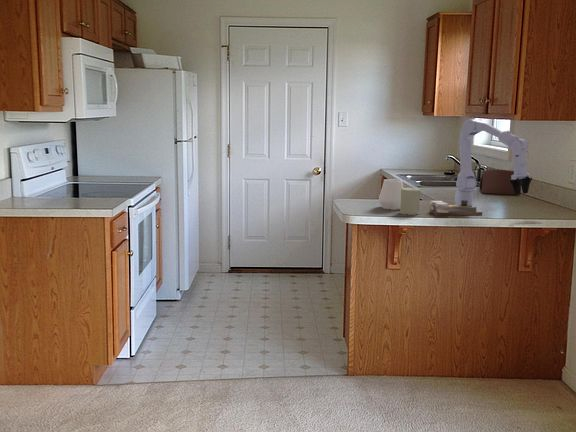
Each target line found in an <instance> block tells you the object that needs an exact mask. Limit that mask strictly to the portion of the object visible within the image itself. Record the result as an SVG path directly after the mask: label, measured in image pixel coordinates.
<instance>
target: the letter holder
mask: <svg viewBox="0 0 576 432" xmlns="http://www.w3.org/2000/svg"><path fill="white" fill-rule="evenodd" d="M511 175H514V170H509V169H508V170H506V169H485V170H484V171H482V175H481V178H480V180H479V189H478V191H479V192H480V193H481V194H491V195H493V194H495V195H513V196H514V195H515V192H514V189H513V186H512V184H511V183H510V180H512V179H511ZM515 196H516V195H515Z"/></svg>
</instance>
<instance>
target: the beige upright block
mask: <svg viewBox="0 0 576 432" xmlns="http://www.w3.org/2000/svg"><path fill="white" fill-rule="evenodd" d="M420 198H421V189H420V188H417V187H403V188H401V203H400V209H399V214H401V215H406V214H408V215H409V216H415V215H416V214H417V215H420V203H421V201H420V200H421V199H420ZM408 215H407V216H408ZM417 215H416V216H417Z"/></svg>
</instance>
